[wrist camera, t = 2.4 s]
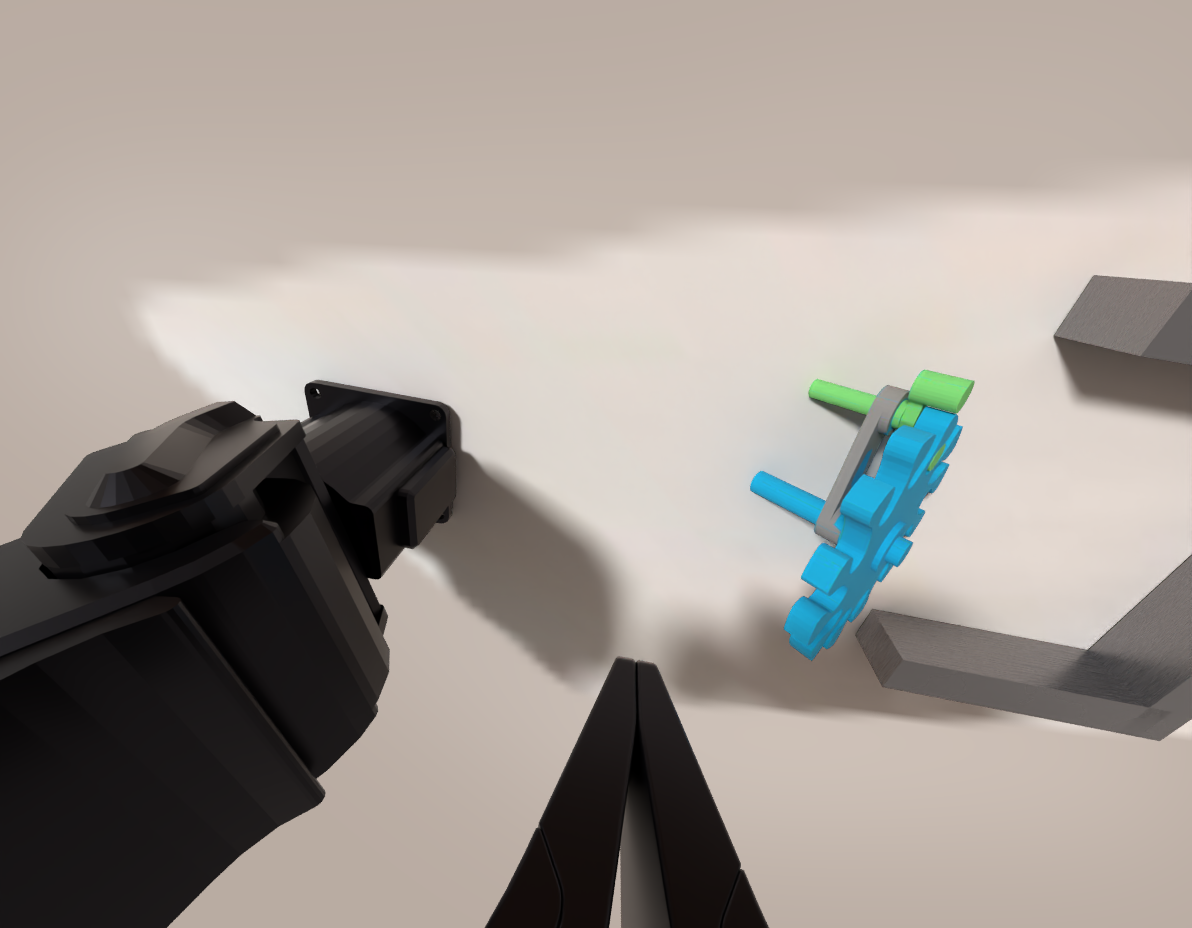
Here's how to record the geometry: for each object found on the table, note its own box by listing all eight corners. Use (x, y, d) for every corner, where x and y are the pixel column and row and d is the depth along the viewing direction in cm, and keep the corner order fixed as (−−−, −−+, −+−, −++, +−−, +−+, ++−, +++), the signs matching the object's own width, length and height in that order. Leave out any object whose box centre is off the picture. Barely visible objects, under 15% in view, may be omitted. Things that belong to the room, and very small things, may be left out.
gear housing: (855, 634, 23) (882, 686, 20) (1094, 275, 14) (1196, 283, 11) (1099, 682, 22) (1159, 741, 20) (1499, 342, 14) (1702, 367, 11)
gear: (881, 619, 20) (787, 721, 13) (769, 550, 24) (653, 603, 17) (1015, 392, 16) (977, 378, 9) (854, 355, 20) (746, 326, 13)
